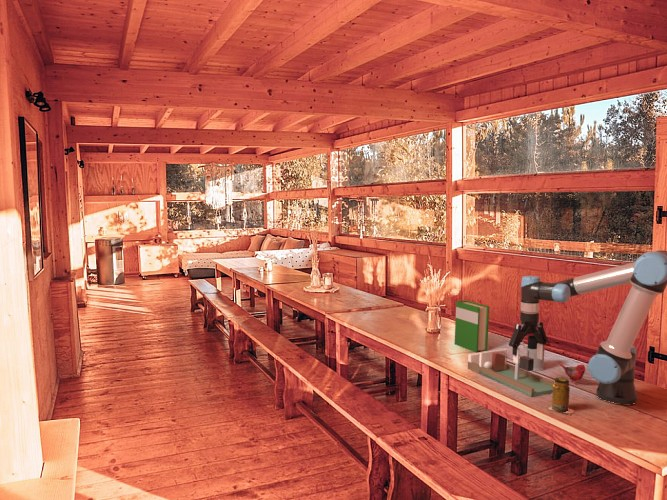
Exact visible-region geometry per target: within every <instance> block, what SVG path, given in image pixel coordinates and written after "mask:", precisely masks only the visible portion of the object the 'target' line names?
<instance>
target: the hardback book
mask: <svg viewBox="0 0 667 500" xmlns="http://www.w3.org/2000/svg"><path fill="white" fill-rule="evenodd" d="M489 321H490V306H489V305H485V304H482V303H477V302H475V301H470V300H459V301H458V300H457V301H456V303H455V326H454V344H453V345H456V346H459V347H461V348H463V349H467V350H468V351H471V352H474V353H479V351H483V352H487V351H488V342H489V341H488V340H489Z"/></svg>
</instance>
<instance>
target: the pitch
mask: <svg viewBox="0 0 667 500" xmlns="http://www.w3.org/2000/svg"><path fill="white" fill-rule="evenodd" d="M497 352H504V353H505V354H508V349H506V348H503V349H497V350H495V349H494V350H489V351H488V350H487V351H482V352H481V351H480V352H477V353H476V352H474V353H468V354H467V369H468V370H470V371H472V372H475V373H476V374H479V375H480V376H481V375H482V376H484V377H486V378H488V379H491V380H492V381H495V382H497V383H499V384H500V385H501V384H502V385H503V386H506V387H508V388H509V389H512V390H515V391H517V392H519V393H522V394H524V395H526V396H528V397H531V398H533V397H538V396H543V395H544V396H545V395H550V394H553V385H554V380H553V381H552V380H550V379H548V378H546V377H542V376H540V375H538V374H535V373H533V372H531V371H526V370H524V369H521V368H519V365H520V363H515V362H514V364H515V365H512V364H510V363H507V359H508V358H506V357H505V370H500V371H492V370H491V369H487V368H485V367H484V363H485V362H491V363H492V353H497Z"/></svg>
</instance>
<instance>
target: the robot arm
mask: <svg viewBox="0 0 667 500" xmlns="http://www.w3.org/2000/svg"><path fill="white" fill-rule="evenodd" d="M628 284H631V288H630V289H629V292H628V294H627V297H626V298H625V301H624V302H623V305H622V307H621V309H620V311H619V313H618V315H617V318H616V320H615V322H614V324H613V326H612V328H611V329H610V330H611V331H610V332H609V335H608V336H607V339H606V340H603V341H601V342H600V343H599V346H598V347H597V351H596V353H595V355H592V356H591V358H590V359H589V360H588V364H587V365H588V366H587V368H588V372H589V374H590V376H592V378H593V379H594V380H595V381H597V382H598V383H599V384H598V385H597V388H596V393H595V396H596V395H597V396H598V397H599V398H601V399H603V400H606V401H610V402H614V403H620V404H633V403H636V402H637V403H638V399H639V396H638V393H637V389H636V386H635V371H636V364H637V363H636V359H637V347H636V346H634V343H635V341H636V339H637V336H638V334H639V332H640V330H641V329H642V327H643V325H644V323H645V321H646V318H647V316H648V314H649V312H650V310H651V308H652V306H653V304H654V302H655V301H656V298H657V296H659V295H661V294H664V293H665V289H666V288H667V250H660V249H659V250H656V251H648V252H645V253H642V254H641V255H640V256H639V257H637V258H636V260H635V261H634V262H630V263H627V264H626V263H625V264H623V265H618V266H615V267H611V268H606V269H602V270H598V271H595V272H592V273H588V274H584V275H580V276H576V277H572V278H571V277H570V278H567V279H563V280H559V281H555V282H545V281H544V282H543V281H541V278H540V276H538V275H524V276H522V278H521V283H520V311H521V312H520V313H519V314H520V321H521V323H520V324H518V323H515V325H514V330H513V333H512V335H511V337H510V340H509V343H508V346H509V347H512V356H513V360H512V362H513V363H514V364H515V363H519V359H520V356H519V355H520V345H521V344H522V343H523V341H524V339H525V336H527V335H530V334H532V336H535V338H536V339H537V341H538V342H539V343H538V344H537V358H538V359H541V360H543V351H544V352H545V350H544V345H545V346H546V345H547V343H549V339H548V336H547V334H546V332H545V328H544V323H543V322H542V321H540V320H539V318H540V316H539V315H540V314H539V312H540V301H541V300H542V301H548V302H549V301H550V302H555V303H567V302H568V301H569V299H570V298H572V297H576V296H579V295H584V294H589V293H593V292H598V291H601V290H605V289H610V288H615V287H620V286H623V285H628ZM522 340H523V341H522ZM597 396H596V397H597ZM598 397H597V398H598ZM599 398H598V399H599ZM601 399H600V400H601ZM603 400H602V401H603ZM606 401H605V402H606ZM614 403H613V404H614ZM637 403H636V404H637ZM633 405H634V404H633Z"/></svg>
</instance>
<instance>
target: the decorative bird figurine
mask: <svg viewBox="0 0 667 500" xmlns="http://www.w3.org/2000/svg"><path fill="white" fill-rule="evenodd" d="M558 364H559V365H560V366H561V367H562V369H563V371H564V372H565V374H566V375H567V376H568V378H569V379H570V382H571V383H573V384H574V385H577V386H578V383H577V382H576V381H579V380H582V379H583V376H584V374H585V372H587V370H586V366H585V365H584V364H583V363H582V364H578V365H577V366H565V365H563V364H562V363H561V362H558Z"/></svg>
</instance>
